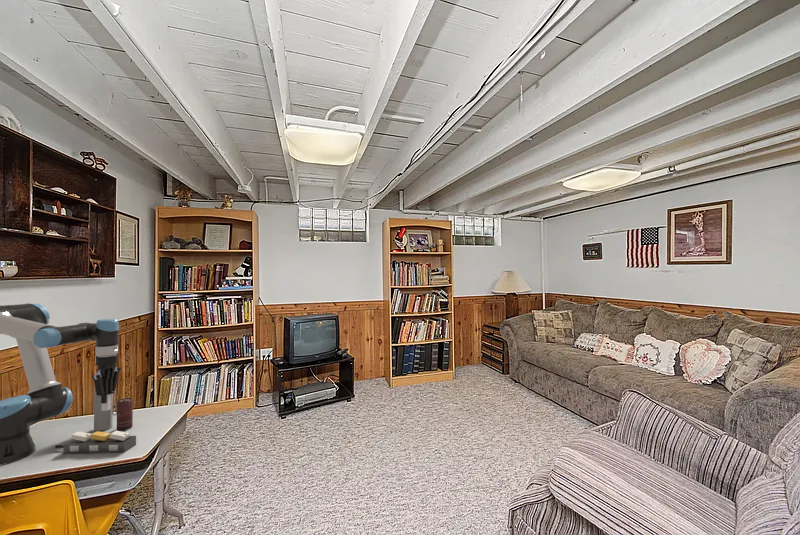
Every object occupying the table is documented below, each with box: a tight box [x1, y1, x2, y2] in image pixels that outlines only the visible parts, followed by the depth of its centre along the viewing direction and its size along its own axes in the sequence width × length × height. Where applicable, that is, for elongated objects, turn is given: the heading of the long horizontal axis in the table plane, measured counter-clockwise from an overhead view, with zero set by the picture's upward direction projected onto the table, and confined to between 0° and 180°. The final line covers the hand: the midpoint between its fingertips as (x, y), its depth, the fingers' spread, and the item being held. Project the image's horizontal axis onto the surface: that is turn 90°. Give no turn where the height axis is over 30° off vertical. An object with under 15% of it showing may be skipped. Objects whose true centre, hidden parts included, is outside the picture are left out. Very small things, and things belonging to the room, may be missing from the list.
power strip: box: [54, 435, 137, 455], centre depth 153 cm, size 31×7×4 cm, turn 92°
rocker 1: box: [70, 431, 92, 441], centre depth 153 cm, size 6×3×2 cm, turn 92°
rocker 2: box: [110, 430, 131, 441], centre depth 154 cm, size 6×3×2 cm, turn 92°
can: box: [116, 397, 134, 432], centre depth 174 cm, size 6×6×14 cm
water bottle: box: [93, 385, 117, 432], centre depth 175 cm, size 9×8×25 cm
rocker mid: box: [90, 431, 112, 441], centre depth 153 cm, size 6×3×2 cm, turn 92°
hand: (106, 409), depth 154 cm, fingers closed
